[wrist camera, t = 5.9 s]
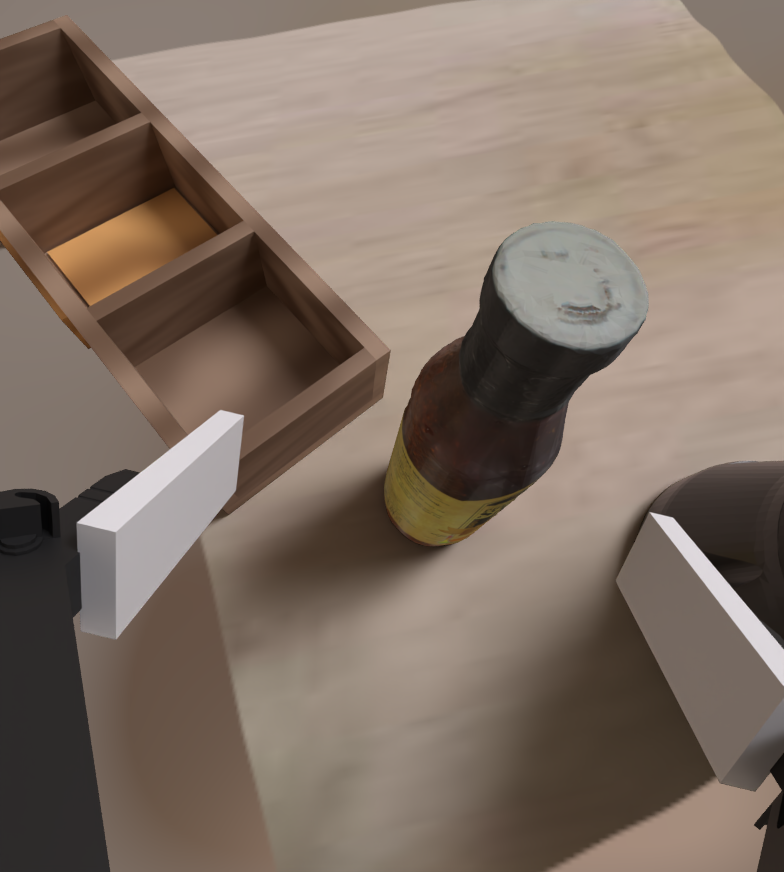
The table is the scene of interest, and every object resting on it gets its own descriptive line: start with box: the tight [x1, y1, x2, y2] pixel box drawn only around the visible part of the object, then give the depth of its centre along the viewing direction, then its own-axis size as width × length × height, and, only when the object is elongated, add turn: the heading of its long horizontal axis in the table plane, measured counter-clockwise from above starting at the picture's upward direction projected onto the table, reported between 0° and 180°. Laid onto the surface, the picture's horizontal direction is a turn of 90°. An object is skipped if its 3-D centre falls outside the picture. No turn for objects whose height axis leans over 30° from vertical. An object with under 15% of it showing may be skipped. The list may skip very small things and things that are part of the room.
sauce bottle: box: [384, 221, 648, 546], centre depth 21 cm, size 6×6×20 cm
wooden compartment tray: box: [0, 15, 391, 514], centre depth 31 cm, size 34×12×6 cm, turn 41°
